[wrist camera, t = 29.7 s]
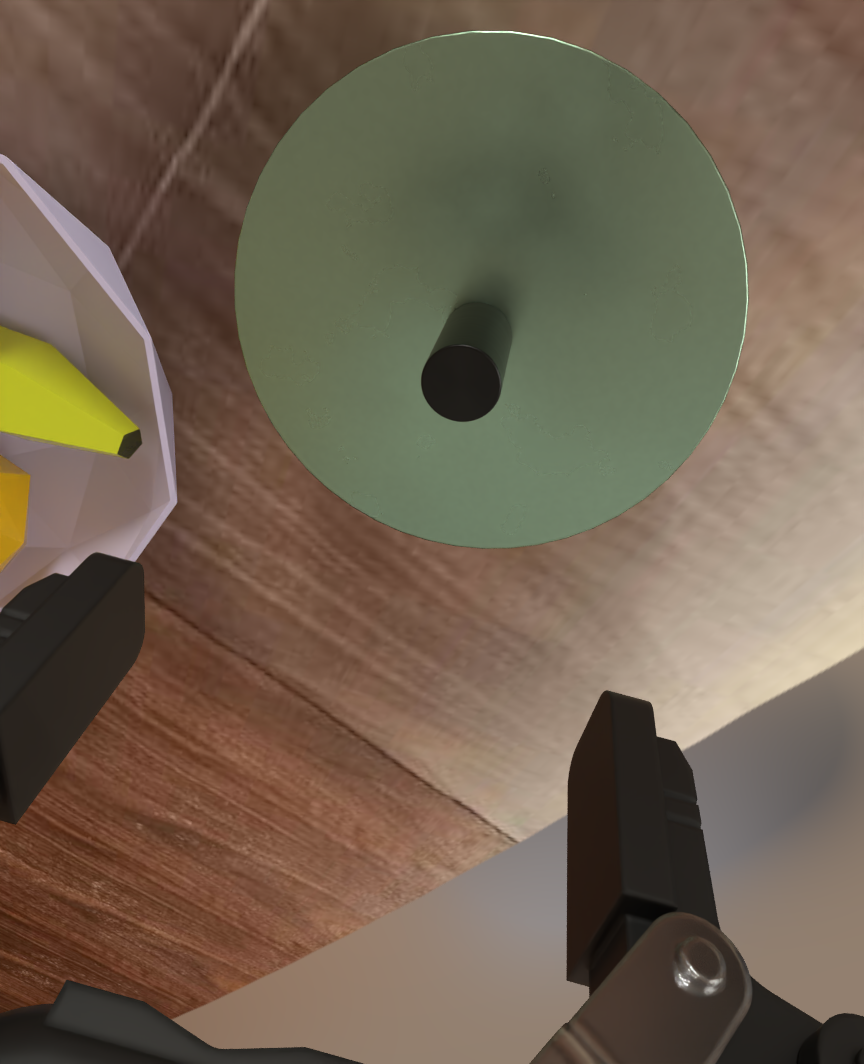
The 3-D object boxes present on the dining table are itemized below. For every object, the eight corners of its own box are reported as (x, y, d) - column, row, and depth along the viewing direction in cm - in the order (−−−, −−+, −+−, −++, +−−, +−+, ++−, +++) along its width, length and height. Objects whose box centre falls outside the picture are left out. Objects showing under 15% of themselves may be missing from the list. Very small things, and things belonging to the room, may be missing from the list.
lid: (846, 112, 23) (925, 124, 18) (632, 580, 34) (643, 673, 28) (264, -34, 24) (177, -62, 18) (232, 473, 34) (171, 547, 29)
